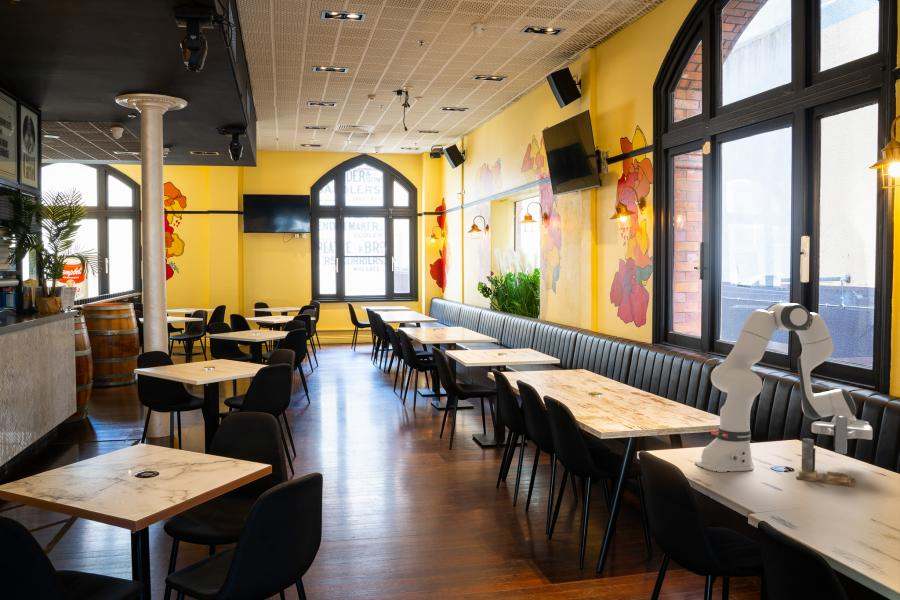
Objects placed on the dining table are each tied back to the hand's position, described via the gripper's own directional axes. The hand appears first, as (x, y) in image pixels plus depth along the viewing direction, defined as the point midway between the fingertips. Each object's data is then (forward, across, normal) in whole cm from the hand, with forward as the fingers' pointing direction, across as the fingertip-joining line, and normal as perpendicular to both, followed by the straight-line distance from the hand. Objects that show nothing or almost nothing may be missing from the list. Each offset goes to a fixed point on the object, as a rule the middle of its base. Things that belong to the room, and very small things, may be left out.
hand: (840, 434), depth 261 cm
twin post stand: (+4, -4, +17) cm, 18 cm away
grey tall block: (-1, 0, +7) cm, 7 cm away
